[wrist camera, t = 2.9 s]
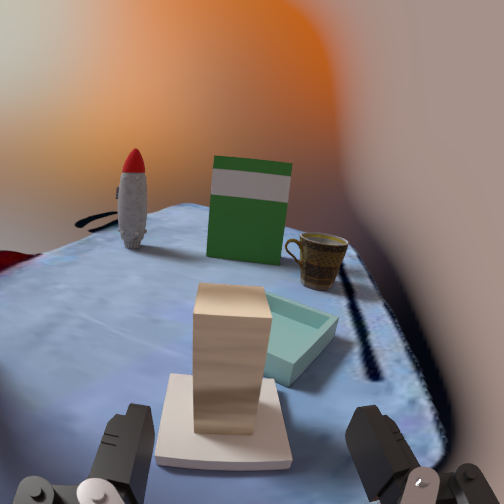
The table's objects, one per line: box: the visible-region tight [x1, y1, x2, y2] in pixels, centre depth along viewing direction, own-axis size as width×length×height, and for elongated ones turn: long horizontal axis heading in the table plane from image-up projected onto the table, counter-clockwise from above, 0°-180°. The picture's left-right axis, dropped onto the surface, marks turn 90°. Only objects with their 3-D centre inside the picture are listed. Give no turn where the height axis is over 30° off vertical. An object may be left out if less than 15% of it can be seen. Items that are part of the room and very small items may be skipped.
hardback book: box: [206, 156, 292, 265], centre depth 73 cm, size 18×7×24 cm, turn 86°
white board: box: [155, 373, 293, 471], centre depth 25 cm, size 11×11×2 cm
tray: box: [263, 291, 339, 388], centre depth 40 cm, size 14×14×4 cm
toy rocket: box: [116, 148, 147, 249], centre depth 70 cm, size 8×8×25 cm
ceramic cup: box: [285, 232, 349, 290], centre depth 61 cm, size 13×10×10 cm
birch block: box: [193, 283, 272, 435], centre depth 23 cm, size 5×5×12 cm
